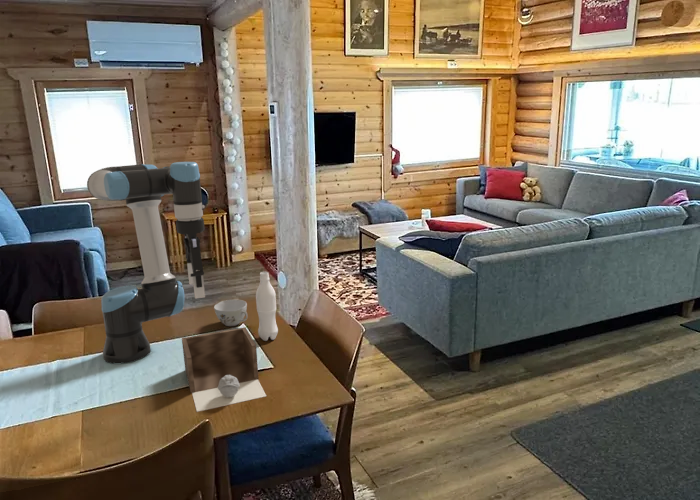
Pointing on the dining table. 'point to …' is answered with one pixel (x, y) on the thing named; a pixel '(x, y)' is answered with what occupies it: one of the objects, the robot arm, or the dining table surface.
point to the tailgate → (216, 399)
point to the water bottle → (266, 308)
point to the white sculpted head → (228, 386)
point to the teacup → (231, 311)
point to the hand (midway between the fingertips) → (196, 290)
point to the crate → (219, 358)
